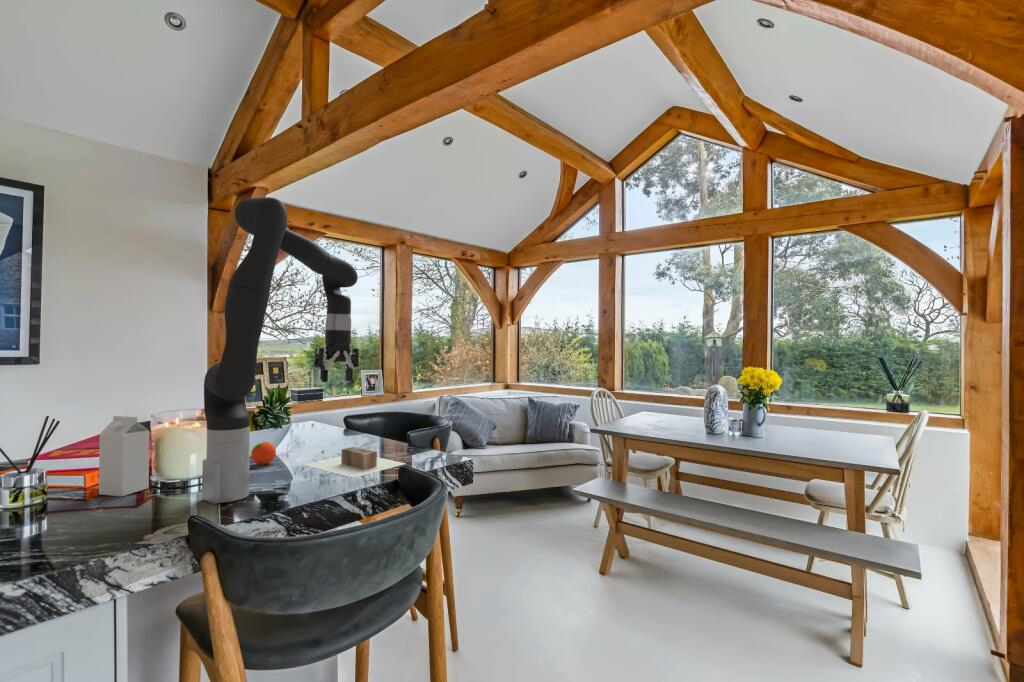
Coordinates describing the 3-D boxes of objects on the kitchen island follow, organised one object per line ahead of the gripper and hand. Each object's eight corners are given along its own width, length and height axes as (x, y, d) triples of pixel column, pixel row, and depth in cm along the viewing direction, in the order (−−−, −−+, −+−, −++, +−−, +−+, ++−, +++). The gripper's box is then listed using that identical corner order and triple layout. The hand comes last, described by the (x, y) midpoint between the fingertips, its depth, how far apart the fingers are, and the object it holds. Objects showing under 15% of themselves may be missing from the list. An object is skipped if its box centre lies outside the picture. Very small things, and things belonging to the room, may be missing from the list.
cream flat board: (353, 479, 138) (353, 477, 138) (302, 466, 152) (302, 464, 152) (406, 465, 155) (406, 463, 155) (356, 454, 168) (356, 452, 168)
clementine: (260, 468, 149) (260, 445, 149) (242, 466, 151) (242, 443, 151) (280, 462, 156) (281, 440, 156) (264, 460, 158) (264, 438, 158)
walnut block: (341, 463, 153) (364, 469, 147) (341, 449, 153) (364, 454, 147) (353, 461, 157) (376, 466, 151) (353, 446, 157) (376, 451, 151)
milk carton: (126, 486, 129) (127, 413, 129) (148, 488, 128) (149, 415, 128) (98, 495, 122) (99, 418, 122) (122, 497, 121) (123, 419, 121)
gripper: (325, 328, 146) (323, 383, 145) (365, 330, 157) (363, 381, 157) (310, 328, 150) (308, 381, 150) (350, 330, 162) (348, 380, 161)
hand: (336, 381), depth 153 cm, fingers open, 8 cm apart
